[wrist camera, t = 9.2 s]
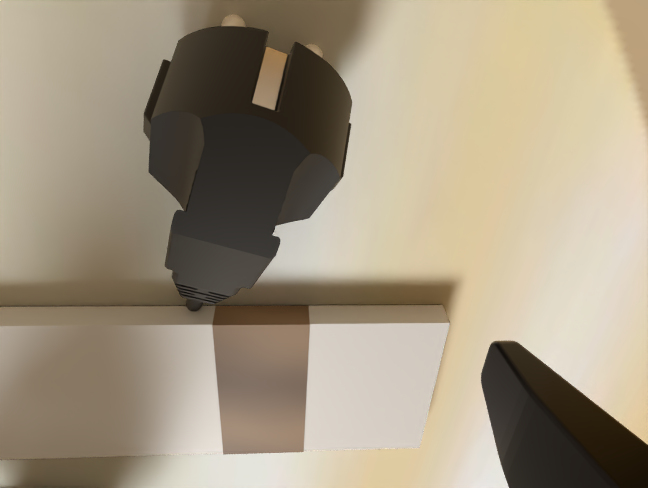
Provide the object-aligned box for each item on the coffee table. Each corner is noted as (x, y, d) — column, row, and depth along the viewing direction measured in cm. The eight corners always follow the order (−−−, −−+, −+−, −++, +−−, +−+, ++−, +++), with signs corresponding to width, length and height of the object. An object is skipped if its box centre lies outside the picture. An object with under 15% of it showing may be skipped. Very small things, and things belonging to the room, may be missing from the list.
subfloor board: (414, 428, 27) (419, 448, 26) (-148, 442, 25) (-167, 465, 24) (442, 305, 23) (450, 323, 22) (-242, 307, 20) (-271, 328, 19)
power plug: (119, 307, 21) (101, 166, 10) (169, 151, 24) (196, -83, 13) (254, 337, 22) (363, 241, 11) (285, 186, 25) (394, -1, 14)
